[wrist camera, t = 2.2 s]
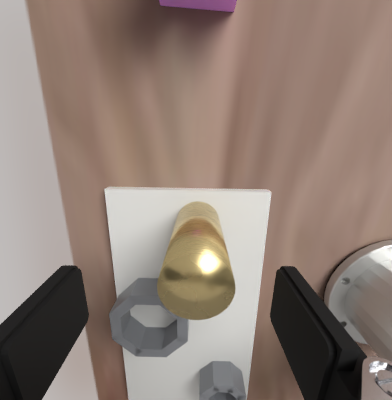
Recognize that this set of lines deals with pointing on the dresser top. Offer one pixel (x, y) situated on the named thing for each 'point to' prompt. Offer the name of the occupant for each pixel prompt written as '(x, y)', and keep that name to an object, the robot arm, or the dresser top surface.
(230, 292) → the brass pipe fitting
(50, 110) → the dresser top surface
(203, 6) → the bracket
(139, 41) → the dresser top surface
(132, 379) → the fitting board
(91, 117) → the dresser top surface
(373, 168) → the dresser top surface
